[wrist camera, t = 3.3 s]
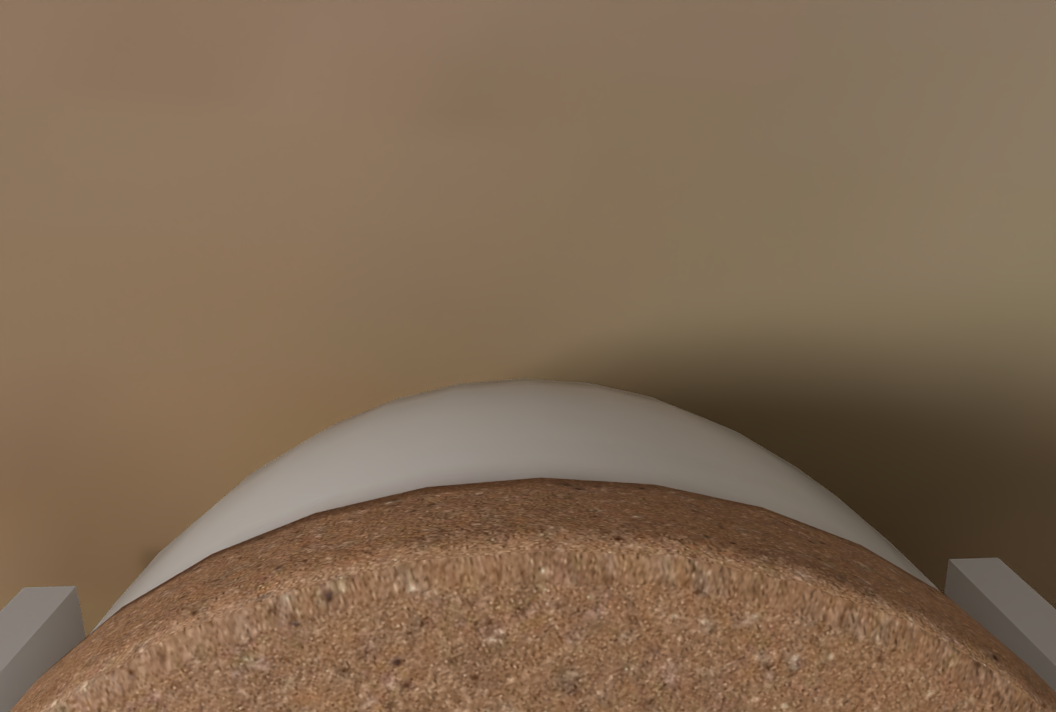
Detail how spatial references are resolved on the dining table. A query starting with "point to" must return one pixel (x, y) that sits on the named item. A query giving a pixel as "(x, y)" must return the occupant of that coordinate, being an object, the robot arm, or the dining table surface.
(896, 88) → the dining table surface
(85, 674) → the lidded jar
